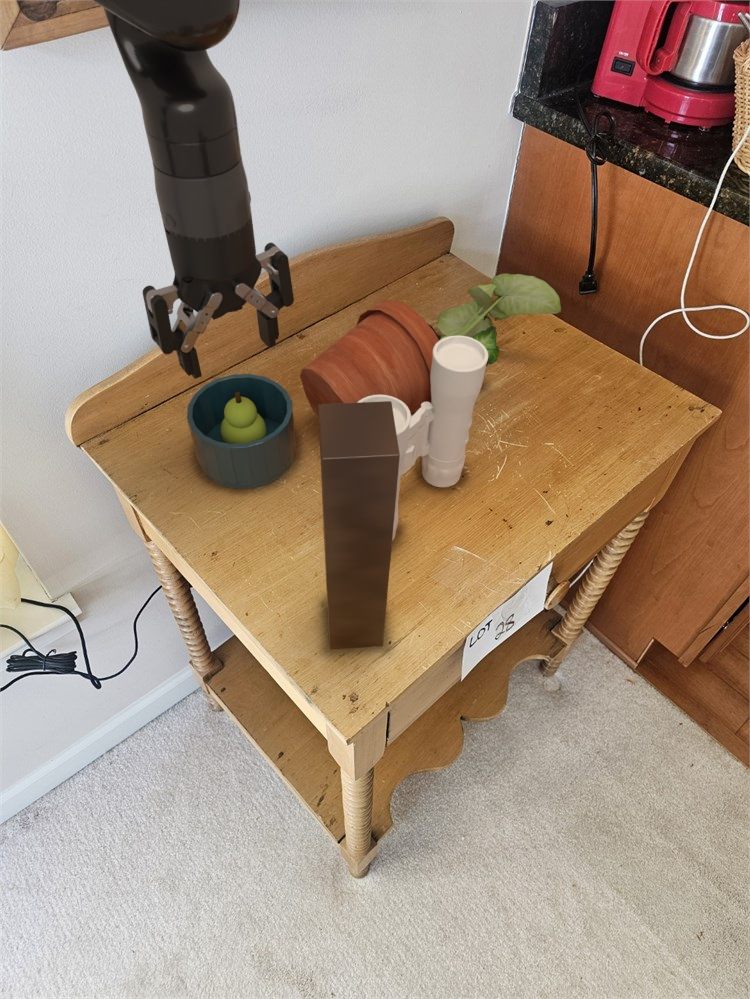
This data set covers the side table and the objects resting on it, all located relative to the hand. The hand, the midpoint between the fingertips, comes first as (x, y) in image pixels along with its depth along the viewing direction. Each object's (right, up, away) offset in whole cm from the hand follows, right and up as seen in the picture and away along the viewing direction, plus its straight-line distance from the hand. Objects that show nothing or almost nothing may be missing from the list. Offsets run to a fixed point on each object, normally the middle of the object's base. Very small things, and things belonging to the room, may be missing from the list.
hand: (231, 357), depth 72 cm
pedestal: (+13, -27, -2) cm, 30 cm away
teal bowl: (0, -9, +11) cm, 14 cm away
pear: (0, -8, +11) cm, 14 cm away
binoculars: (+19, -15, +8) cm, 25 cm away
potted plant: (+22, +1, +20) cm, 29 cm away
